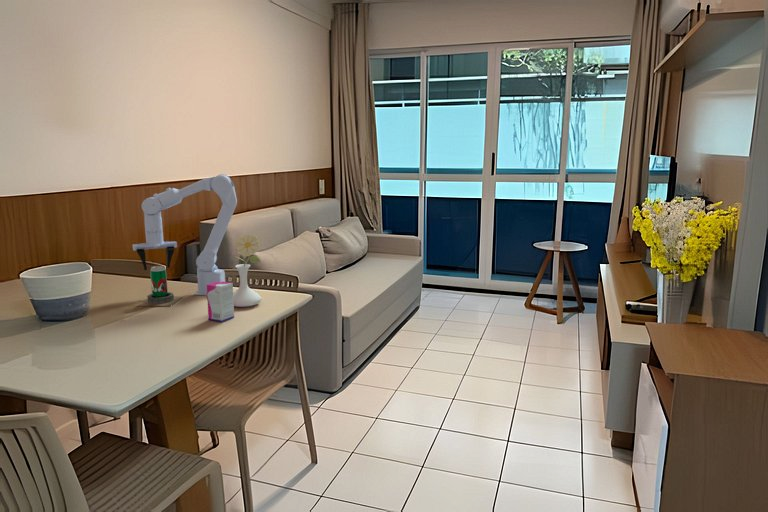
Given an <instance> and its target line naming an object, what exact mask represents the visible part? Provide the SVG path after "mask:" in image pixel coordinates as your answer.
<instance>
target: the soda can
mask: <svg viewBox="0 0 768 512" xmlns="http://www.w3.org/2000/svg"><path fill="white" fill-rule="evenodd" d="M149 274H150V287H151V294H152V297H153V298H161V297H167V296H168V292H169V290H168V281H167V269H166V268H165V266H164V265H154V266H151V267H150V269H149Z"/></svg>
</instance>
